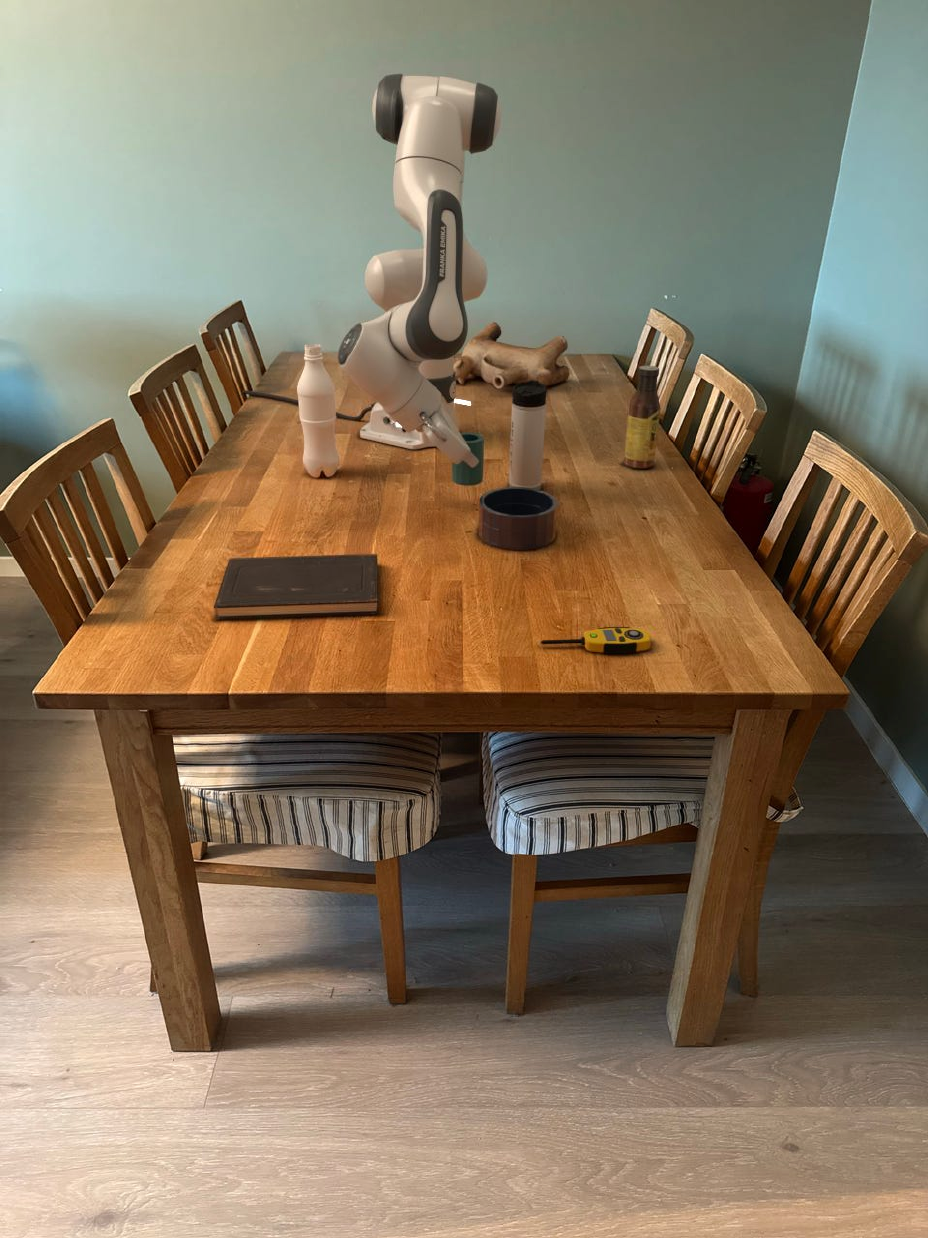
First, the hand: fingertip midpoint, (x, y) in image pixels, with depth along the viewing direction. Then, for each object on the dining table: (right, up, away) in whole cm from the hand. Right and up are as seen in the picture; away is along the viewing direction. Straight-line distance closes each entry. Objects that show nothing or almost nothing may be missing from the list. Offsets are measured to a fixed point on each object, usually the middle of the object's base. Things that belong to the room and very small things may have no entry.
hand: (471, 456), depth 157 cm
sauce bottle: (+35, +3, +25) cm, 43 cm away
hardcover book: (-26, -25, -24) cm, 43 cm away
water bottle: (-30, 0, +19) cm, 35 cm away
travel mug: (+11, -4, +13) cm, 17 cm away
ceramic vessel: (+9, +34, +78) cm, 86 cm away
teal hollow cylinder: (-1, -4, +2) cm, 4 cm away
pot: (+8, -14, -6) cm, 17 cm away
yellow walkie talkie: (+17, -33, -37) cm, 52 cm away
